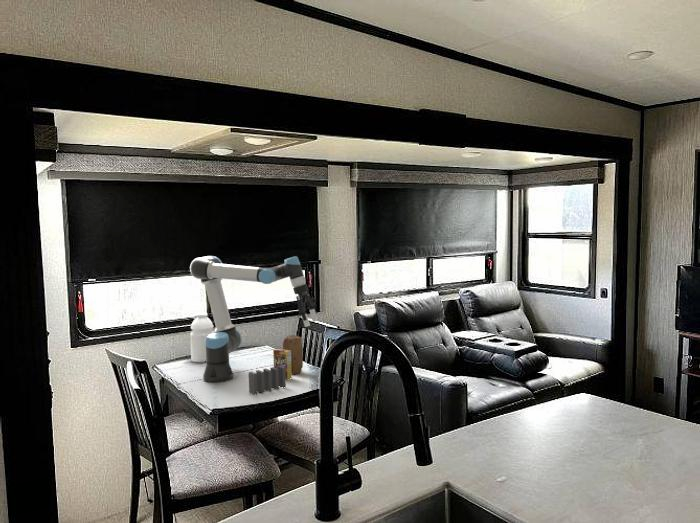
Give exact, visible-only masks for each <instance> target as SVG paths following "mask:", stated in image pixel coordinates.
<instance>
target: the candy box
mask: <svg viewBox="0 0 700 523" xmlns="http://www.w3.org/2000/svg"><path fill="white" fill-rule="evenodd" d="M272 351H273V352H272V353H273V367H274V368H277V366H282V367H285V369H286V381H289V380H291V379H292V378H293V377H292V375H293V374H292V372H291V350H285V349H283V348H275V349H273V350H272ZM290 378H291V379H290ZM288 379H289V380H288Z"/></svg>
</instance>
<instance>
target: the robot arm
mask: <svg viewBox="0 0 700 523" xmlns="http://www.w3.org/2000/svg"><path fill="white" fill-rule="evenodd" d="M301 265H302V264H301V262H300V260H299V257H298V256H292V257H289V258H286V259H284V263H282V264H280V265H276V266H273V267H269V268H268V267H259V266H246V265H238V264H237V265H235V264H227V263H223V262H222V260H221V259H220V258H219V257H217V256H214V255H207V256H202V257H196V258H194V259H193V260H192V261H191V263H190V266H189V269H190V270H189V271H190V274H191V275H192V276H193V277H194V278H195V279H198V280H200V283H201V284H202V285H203V286H204V287H205V291H206V295H207V298H208V302H209V306H210V309H211V314H212V318H213V321H214V324H215V329H214V330H213V331H214V333H212V334H209V335H208V336H207V337H206V362H205V363H206V365H205V368H204V371H203V379H204V380H205V381H204V380H203V381H204V382H207V381H208V383H222V382H221V381H223V382H227V381H226V380H228V381H231V380H232V379H233V378H234V373H233V370H232V368H231V364H230V354H231V353H233V352H235V351H236V350H237V349H239V347H240V346H241V344H242V341H243V340H242V335H241V332H239V331H238V330H237V328H236V325H235V324H233V323H232V320H231V315H230V312H229V308H228V305H227V304H228V303H227V302H226V298H225V293H224V290H223V285H222V280H235V281H244V282H245V281H246V282H254V283H257V282H258V283H261V284H264V285H269V284H272V283H276V282H278V281H280V280H283V279H286V278H289V280H290V282H291V286H292V287H293V288H292V289H293V292H294V294H295V295H297V296H296V297H295V298H296V301H297V309H298V310H297V311H298V315H299V316H301V319H302V322H303V325H304V327H305V328H307V327H311V323H310V321H309V318H308V317H309V316H308V314H307V313H306V306H307V307H308V309H309V310H308V311H309V312H310V316H311V320H312V322H313V323H314V322H317V321H319V318H318V316H317V313H316V309H317V308H316V304H315V303H314V300H313V299H312V297H311V295H310V293H309V286H308V285H307V283H306V276H304V272H303V269H302V266H301Z"/></svg>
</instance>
